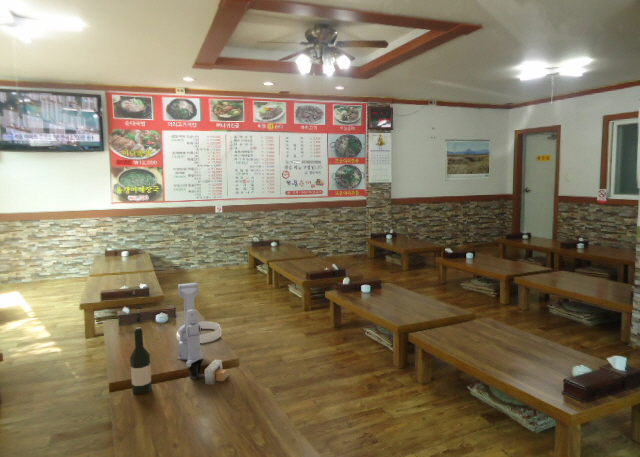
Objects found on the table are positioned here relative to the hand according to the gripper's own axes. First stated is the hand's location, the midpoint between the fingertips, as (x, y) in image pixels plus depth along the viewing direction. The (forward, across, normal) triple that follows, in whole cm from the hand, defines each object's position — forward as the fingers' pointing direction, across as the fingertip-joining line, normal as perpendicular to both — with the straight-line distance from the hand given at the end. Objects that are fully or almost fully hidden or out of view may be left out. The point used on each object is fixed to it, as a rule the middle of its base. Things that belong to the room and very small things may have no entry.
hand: (195, 374), depth 221 cm
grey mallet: (+1, 0, -7) cm, 7 cm away
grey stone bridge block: (+1, 0, -10) cm, 10 cm away
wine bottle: (+2, -16, +19) cm, 25 cm away
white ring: (+2, +56, +23) cm, 60 cm away
